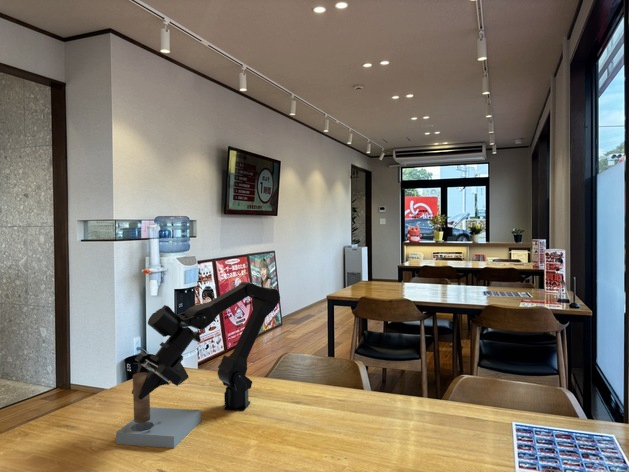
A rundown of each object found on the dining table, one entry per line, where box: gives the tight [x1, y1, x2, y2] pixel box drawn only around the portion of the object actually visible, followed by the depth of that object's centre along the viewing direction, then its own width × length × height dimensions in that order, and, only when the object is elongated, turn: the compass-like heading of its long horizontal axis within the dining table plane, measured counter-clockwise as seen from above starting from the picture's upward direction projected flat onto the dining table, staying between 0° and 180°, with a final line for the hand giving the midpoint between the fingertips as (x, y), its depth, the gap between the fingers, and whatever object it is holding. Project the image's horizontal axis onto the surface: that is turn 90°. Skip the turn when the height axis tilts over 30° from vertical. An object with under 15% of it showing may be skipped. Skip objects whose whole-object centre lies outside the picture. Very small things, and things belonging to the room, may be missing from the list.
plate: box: [115, 406, 202, 449], centre depth 119 cm, size 16×16×3 cm
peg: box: [132, 372, 151, 423], centre depth 116 cm, size 4×4×12 cm
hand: (136, 396), depth 115 cm, fingers closed on peg, 4 cm apart
